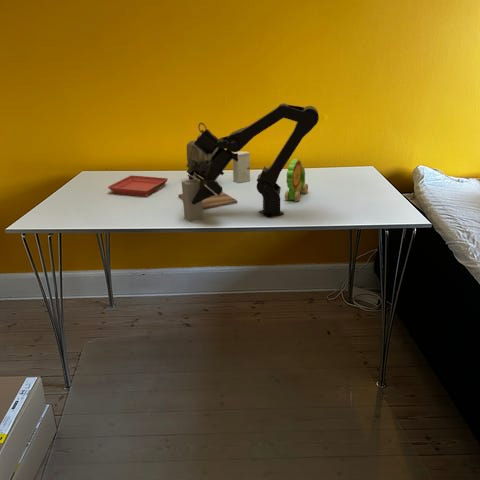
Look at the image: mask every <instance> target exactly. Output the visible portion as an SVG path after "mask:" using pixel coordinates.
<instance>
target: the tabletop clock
mask: <svg viewBox="0 0 480 480" xmlns="http://www.w3.org/2000/svg"><path fill="white" fill-rule="evenodd" d="M201 125H202V126H203V127H204V129H200V127H201ZM206 129H207V126H206V124H205V123H204V122H200V123H199V124H198V131H199V132H200V134H198V135H197V137H196V140H197V139H198V138H199V137H200V136H201V135H202V134H203V132H204V131H205V130H206ZM196 140H191V141H189V142H187V144H186V160H187V162H186V163H188V161H189V158H192V159H195V160H198V161H199V160H202V161H205V160H208V161H209V160H210V159H211V158H212V156H213V155H214V154H215V152H216V151H217V150H218V149H219V148H218V147H217V148H216V149H215V150H214V152H213V153H212V154H209V155H208V154H207V155H206V154H205V153H203V152H202V151H201V150H200V149H199V148H197V147H196V146H195V145H194V143H195V141H196ZM188 169H189V168H188V167H187V170H188ZM215 182H216V183H218V181H216V180H215ZM218 184H219V183H218Z"/></svg>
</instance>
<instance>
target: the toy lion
mask: <svg viewBox="0 0 480 480" xmlns="http://www.w3.org/2000/svg"><path fill="white" fill-rule="evenodd" d="M286 185H287V188H288V190H286V191H285V192H284V200H285V201H290V200H294V201H295V202H299V201H300V200H301V192H302V194H307V193H308V191H309V184H308V183H306V171H305V167H304V166H303V164H302V161H301V159H298V158H293V159H292V160H291V161H290V162H289V165H288V167H287V172H286Z"/></svg>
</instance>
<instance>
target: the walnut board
mask: <svg viewBox="0 0 480 480" xmlns="http://www.w3.org/2000/svg"><path fill="white" fill-rule="evenodd" d="M214 194H215V196H214V195H213V196H211V197H209V198H207V199H204V200H202V209H203V211H205V210H208V209H214V208H218V207H225V206H229V205H234V204H238V200H237V199H235V198H234V197H232V196H230V195H229V194H227V193H225V192H224V191H222V193H221V194H220V195H217V194H216V193H214ZM178 198H179V199H181V201H183V193H181V194H178Z"/></svg>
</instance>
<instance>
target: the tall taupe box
mask: <svg viewBox="0 0 480 480" xmlns="http://www.w3.org/2000/svg"><path fill="white" fill-rule="evenodd" d="M200 183H201V182H200V181H198V180H197V179H192V180H189V179H186V180H181V190H182V191H181V193H182V194H183V200H182V204H183V217H184V218H185V220H186V221H188V222H189V223H190V222H191V223H192V222H195V221H196V222H197V221H201V220H203V219H204V214H203V213H204V212H203V211H204V210H203V209H202V201H200V202H198V203H197V204H195V205H193V204H192V201H193V199H194V197H195V196H196V194H197V193H198V191H199V189H200Z"/></svg>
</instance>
